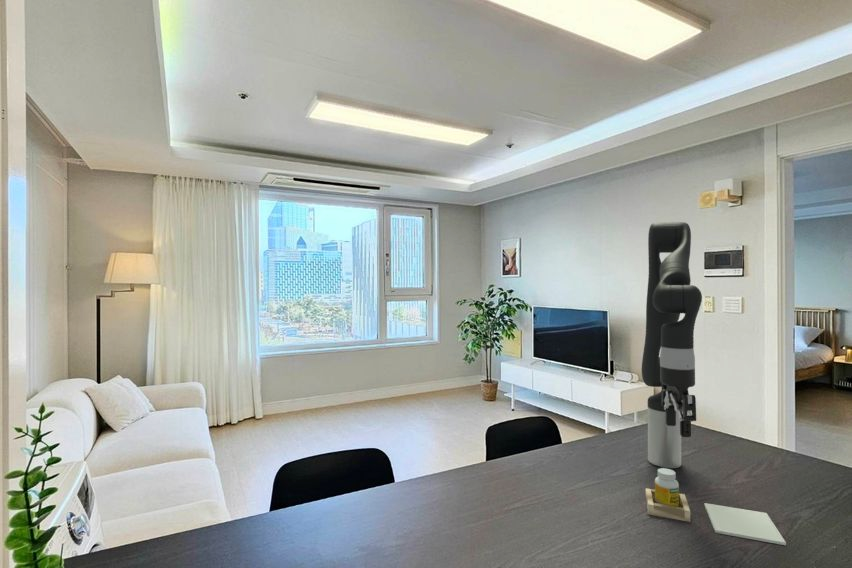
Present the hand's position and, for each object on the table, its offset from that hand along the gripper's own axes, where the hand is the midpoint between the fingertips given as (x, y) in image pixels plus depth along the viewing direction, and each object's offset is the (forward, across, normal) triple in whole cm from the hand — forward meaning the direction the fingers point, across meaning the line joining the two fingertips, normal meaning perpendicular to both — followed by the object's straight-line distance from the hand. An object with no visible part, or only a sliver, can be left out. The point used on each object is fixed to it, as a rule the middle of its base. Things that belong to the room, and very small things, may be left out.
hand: (677, 430), depth 109 cm
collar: (+20, +2, +2) cm, 20 cm away
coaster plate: (+20, -3, -13) cm, 24 cm away
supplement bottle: (+21, +2, +2) cm, 21 cm away
